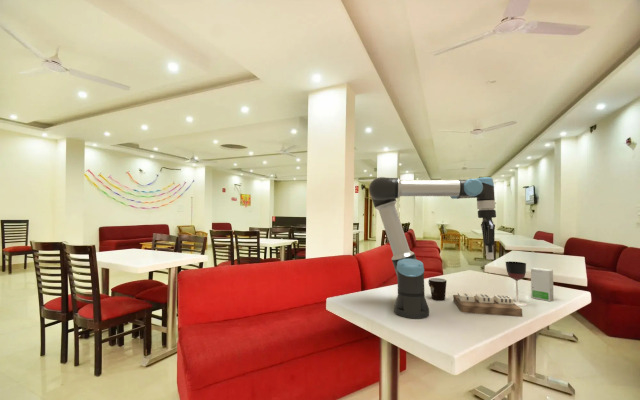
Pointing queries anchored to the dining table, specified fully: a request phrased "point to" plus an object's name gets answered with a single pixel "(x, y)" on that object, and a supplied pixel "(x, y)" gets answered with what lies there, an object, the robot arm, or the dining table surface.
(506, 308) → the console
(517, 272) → the wineglass
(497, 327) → the dining table surface
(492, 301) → the tile two
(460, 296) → the tile one
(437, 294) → the coffee mug
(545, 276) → the skincare box
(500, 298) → the tile three
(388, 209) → the robot arm
